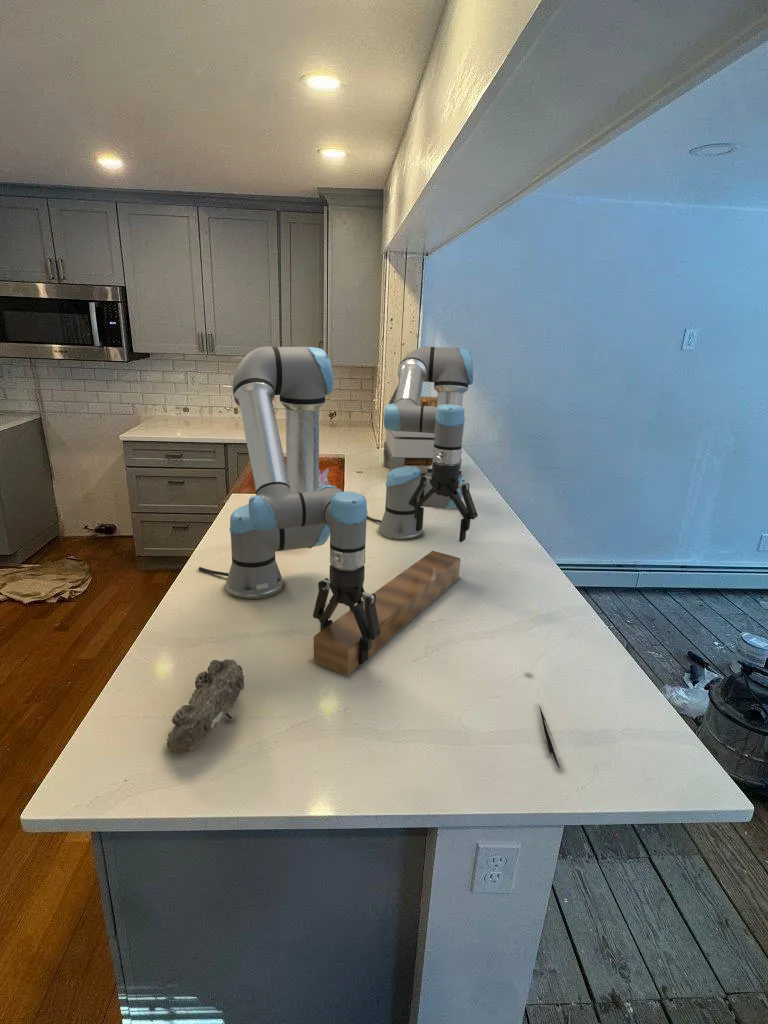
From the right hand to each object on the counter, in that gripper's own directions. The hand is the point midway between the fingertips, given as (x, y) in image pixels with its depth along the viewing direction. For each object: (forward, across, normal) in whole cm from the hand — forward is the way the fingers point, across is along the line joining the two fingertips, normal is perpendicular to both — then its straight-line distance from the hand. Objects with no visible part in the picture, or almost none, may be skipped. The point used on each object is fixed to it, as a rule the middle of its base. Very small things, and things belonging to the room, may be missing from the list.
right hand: (440, 535), depth 161 cm
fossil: (+15, -9, -77) cm, 79 cm away
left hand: (+14, 0, -46) cm, 48 cm away
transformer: (+14, -59, +100) cm, 116 cm away
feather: (+15, +44, -41) cm, 62 cm away
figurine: (+14, -66, +33) cm, 75 cm away
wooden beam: (+15, 0, -23) cm, 27 cm away
